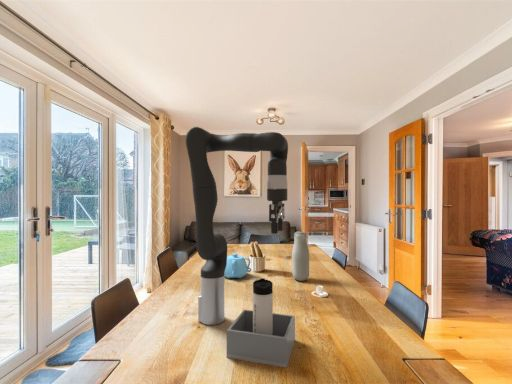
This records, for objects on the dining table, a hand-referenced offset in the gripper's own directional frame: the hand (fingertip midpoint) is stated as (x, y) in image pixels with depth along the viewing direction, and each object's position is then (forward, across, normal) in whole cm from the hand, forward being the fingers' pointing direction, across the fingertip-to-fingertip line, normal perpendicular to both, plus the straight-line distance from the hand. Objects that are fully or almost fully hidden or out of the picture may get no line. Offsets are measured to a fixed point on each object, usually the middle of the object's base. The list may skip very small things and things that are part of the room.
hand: (277, 232), depth 103 cm
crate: (+35, +15, -1) cm, 38 cm away
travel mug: (+34, +15, -1) cm, 37 cm away
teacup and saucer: (+36, -39, +10) cm, 54 cm away
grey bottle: (+35, -61, -1) cm, 71 cm away
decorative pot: (+35, -57, -40) cm, 78 cm away
